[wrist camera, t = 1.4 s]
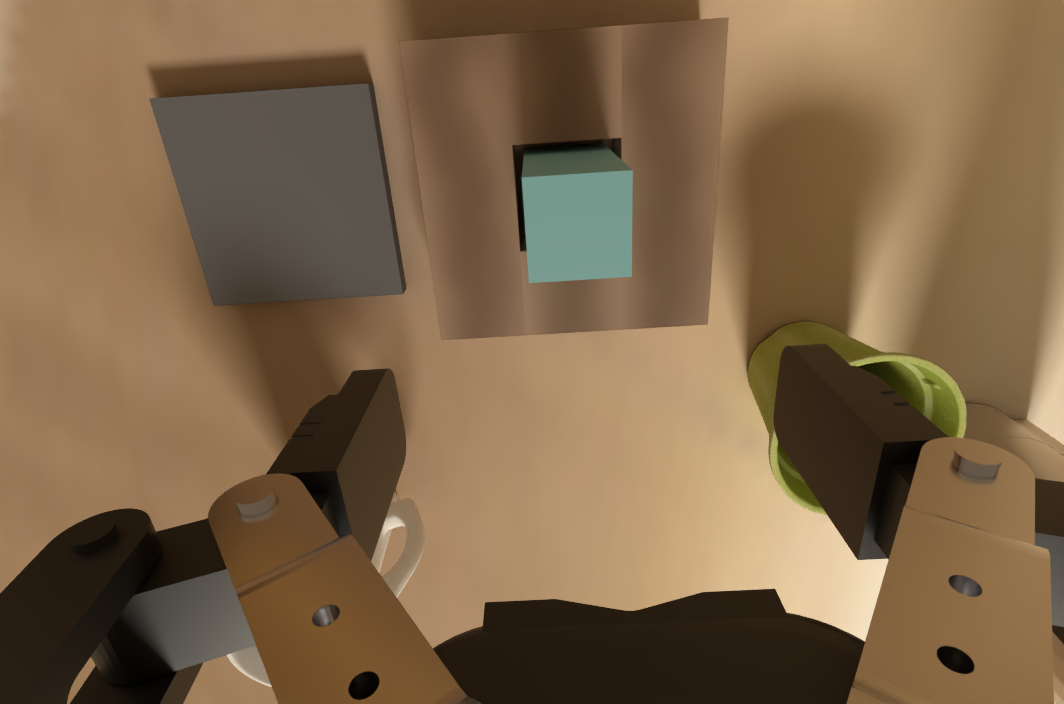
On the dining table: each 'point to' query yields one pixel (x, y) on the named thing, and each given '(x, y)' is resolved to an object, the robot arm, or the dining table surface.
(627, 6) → the dining table surface
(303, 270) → the mat
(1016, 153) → the dining table surface
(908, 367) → the plant pot
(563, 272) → the peg
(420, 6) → the dining table surface
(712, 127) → the pocket block
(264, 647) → the robot arm
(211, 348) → the dining table surface
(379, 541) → the mug
